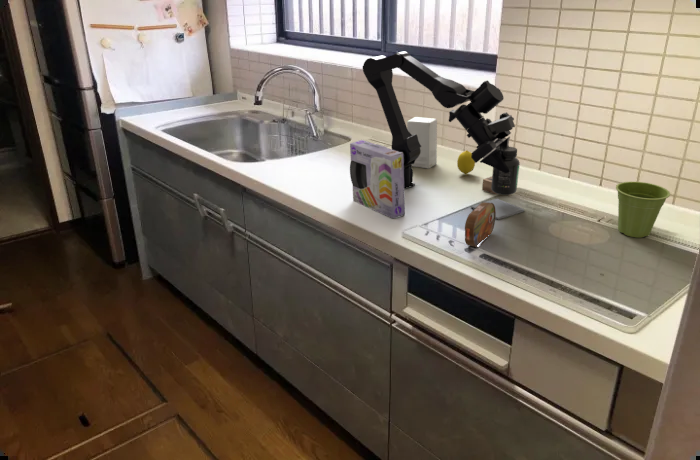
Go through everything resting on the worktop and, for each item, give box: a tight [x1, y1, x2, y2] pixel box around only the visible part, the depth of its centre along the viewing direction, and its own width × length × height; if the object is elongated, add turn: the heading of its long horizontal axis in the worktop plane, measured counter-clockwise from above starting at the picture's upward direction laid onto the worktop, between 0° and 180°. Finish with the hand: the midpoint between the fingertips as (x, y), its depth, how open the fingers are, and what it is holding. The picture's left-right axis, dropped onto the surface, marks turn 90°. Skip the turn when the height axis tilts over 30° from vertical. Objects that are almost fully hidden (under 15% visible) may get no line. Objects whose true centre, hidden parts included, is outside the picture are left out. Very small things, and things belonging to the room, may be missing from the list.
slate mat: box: [470, 198, 525, 220], centre depth 160 cm, size 10×10×1 cm
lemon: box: [456, 149, 476, 176], centre depth 186 cm, size 6×6×8 cm
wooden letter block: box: [481, 176, 498, 195], centre depth 173 cm, size 5×5×4 cm
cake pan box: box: [349, 139, 406, 219], centre depth 159 cm, size 19×5×18 cm, turn 36°
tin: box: [464, 201, 496, 248], centre depth 141 cm, size 15×3×8 cm, turn 148°
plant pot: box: [615, 181, 671, 239], centre depth 142 cm, size 12×12×11 cm
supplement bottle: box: [491, 145, 521, 196], centre depth 159 cm, size 7×7×12 cm
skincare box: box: [406, 116, 438, 170], centre depth 194 cm, size 8×7×16 cm
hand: (511, 168), depth 158 cm, fingers closed on supplement bottle, 7 cm apart
